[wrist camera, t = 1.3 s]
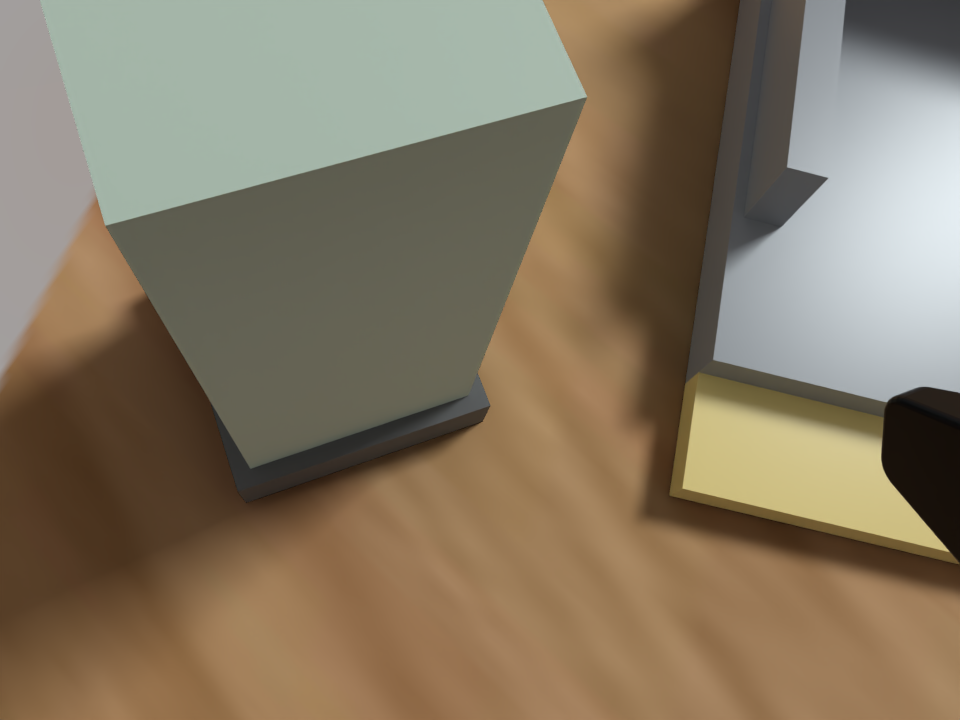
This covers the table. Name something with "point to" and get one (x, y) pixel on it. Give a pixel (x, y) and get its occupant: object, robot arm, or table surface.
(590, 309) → the table surface
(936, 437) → the robot arm
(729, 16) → the table surface
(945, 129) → the dock
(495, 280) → the pale green tall block
